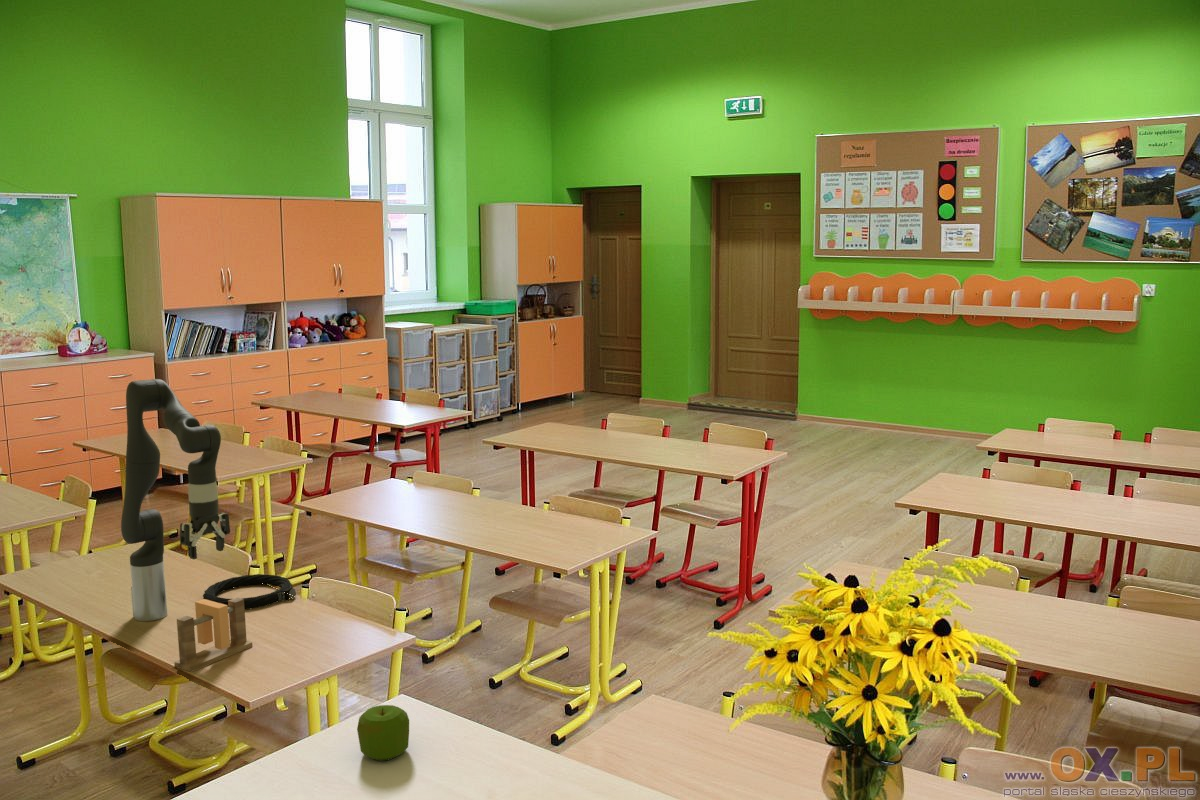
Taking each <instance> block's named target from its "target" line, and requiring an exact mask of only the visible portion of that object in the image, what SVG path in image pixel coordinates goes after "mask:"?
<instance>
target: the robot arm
mask: <svg viewBox="0 0 1200 800" xmlns="http://www.w3.org/2000/svg"><path fill="white" fill-rule="evenodd" d="M125 404H126V405H125V406H126V407H125V408H126V425H127V426H126V427H127V433H126V452H125V486H124V487H125V488H124V499H123V505H122V513H121V523H120V531H121V536H122V538H123V541H125V543H126V544H129V545H132V544H133V545H135V544H139V543H143V542H144V543H143V544H142V545H141V546H140V548H138V549H137V550H135V551H133V552H132V553H131V554H130V556H129V562H130V564H129V566H130V576H131V587H130V591H131V592H130V594H131V605H132V606H131V607H132V616H133V617H134V620H136V621H137V622H153V621H157V620H161V619H162V618H164V617H166V616H167V615H168V606H167V605H168V603H167V590H166V577H165V566H164V565H165V563H164V552H165V547H164V546H165V545H164V542H165V541H164V533H165V531H164V521H163V517H162V515H161V513H160V511H159V510H157V509H155V508H150V509H149V508H148V509H143V510H141V507H142V504H143V501H144V499H145V497H146V495H147V494H148V493H149V491H150V490H151V488H152V487H153V485H154V484H155V482H156V481H157V479H158V477H159V474H160V467H161V465H160V464H161V452H160V449H159V447H158V445H157V444H156V442H155V441H154V439H153V438H152V437H151V435H150V434H149V432H148V431H147V429H146V428H145V424H144V412H145V413H147V412H155V411H160V410H163V411H164V413H163V422H164V424H165V426H166V428H167V429H168V430H169V431H170V432H171V433H173V435H175V437H176V439H177V441H178V444H179V448H180V449H181V450H182V451H183V452H184V453H186V454H198V453H202V454H201V456H200V457H199V458H197V459H195V460H192V461H190V462H189V463H188V464H187V465H188V466H187V475H188V476H187V477H188V489H187V491H188V492H187V494H188V495H187V496H188V509H189V517H190V522H186V523H185V522H182V523H180V525H179V543H180V545H183V546H186V547H187V556H188V558H189V559H190V560H197V557H198V553H197V545H196V544H197V542H198V541H199V540H200V539H201V537H202V536H205V535H207V534H212V533H213V534H214V535H215V547H216V548H215V549H216V551H218V552H222V551H224V549H225V537H226V535H230V534H231V527H230V525H231V524H230V519H229V518H230V517H229V513H225V512H220V510H219V509H220V507H219V492H218V491H219V490H218V484H217V473H216V470H217V469H216V466H217V462H218V455H219V452H220V451H219V450H220V447H221V444H222V443H221V442H222V437H221V436H222V435H221V433H220V430H219V429H218V428H217V426H215V425H212V424H207V425H201V423H200V422H199V420H198V419H197V418H196V416H194V415H193V414H192V413H191V412H190V411H188V410H187V409H186V408H185V407H184V406H183V404H182V403H181V401H180V400H179V399H178V397H177V395H176V394H175V393H174V391H173V389H172V388H171V386H170V385H169V384H168V383H167V382H165V380H163V379H159V378H152V379H142V380H141V379H140V380H139V379H138V380H134V381H130V382H129V383H128V384H127V386H126V392H125ZM218 524H220V525H218Z"/></svg>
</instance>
